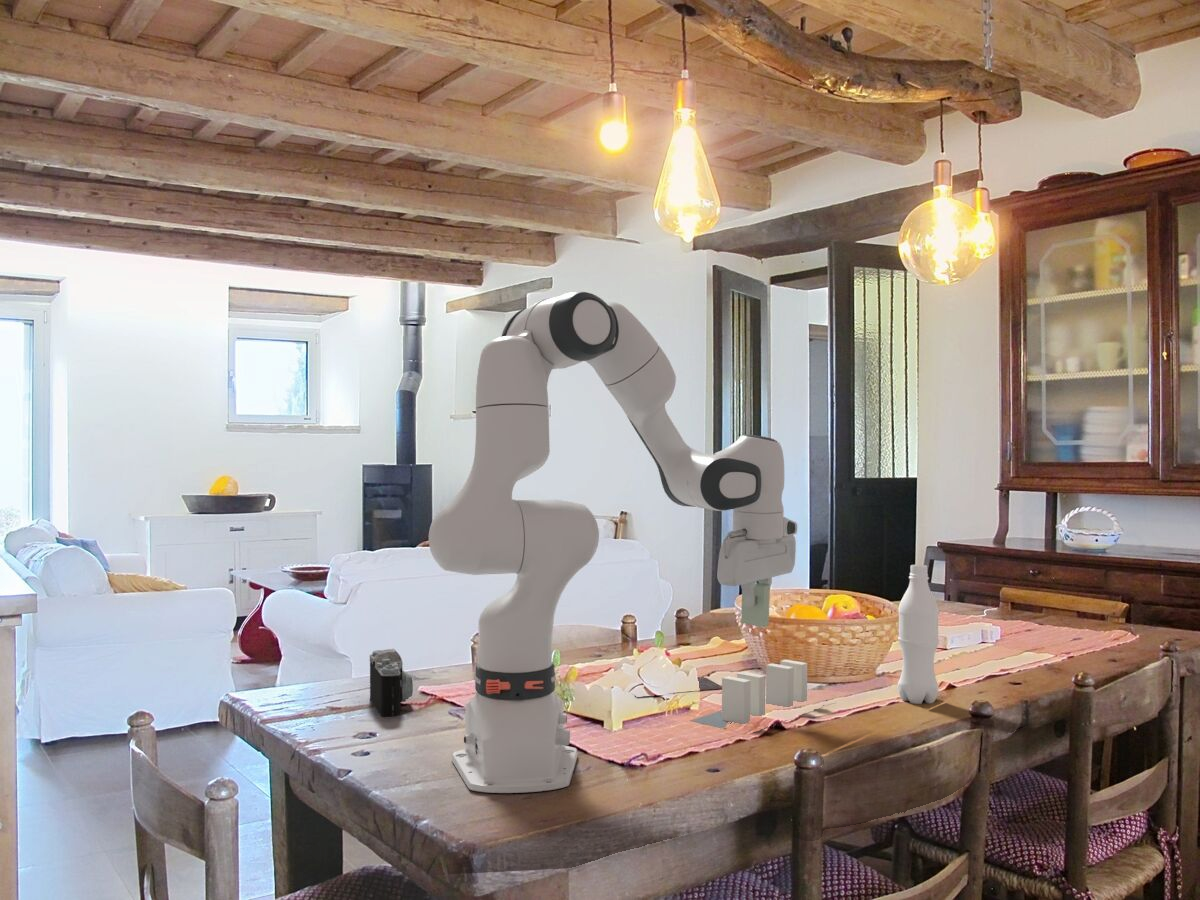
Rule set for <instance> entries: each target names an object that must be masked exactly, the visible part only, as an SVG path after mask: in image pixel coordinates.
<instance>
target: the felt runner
mask: <svg viewBox="0 0 1200 900" xmlns="http://www.w3.org/2000/svg"><path fill="white" fill-rule="evenodd" d="M721 711H722V709H721V710H718V711H716V712H712V713H709V714H705V715H703V716H699V717H696V718H693V719H690V720H689V721H690V722H693V723H697V724H701V725H706V726H710V727H714V728H717V729H718V728H719V729H722V728H724V727H726V725H727V723H728V722H729V721H725V720H722V712H721ZM731 723H732V722H731ZM731 723H730V724H731ZM773 726H777V725H776V724H775V725H773ZM773 726H772V727H773Z"/></svg>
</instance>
